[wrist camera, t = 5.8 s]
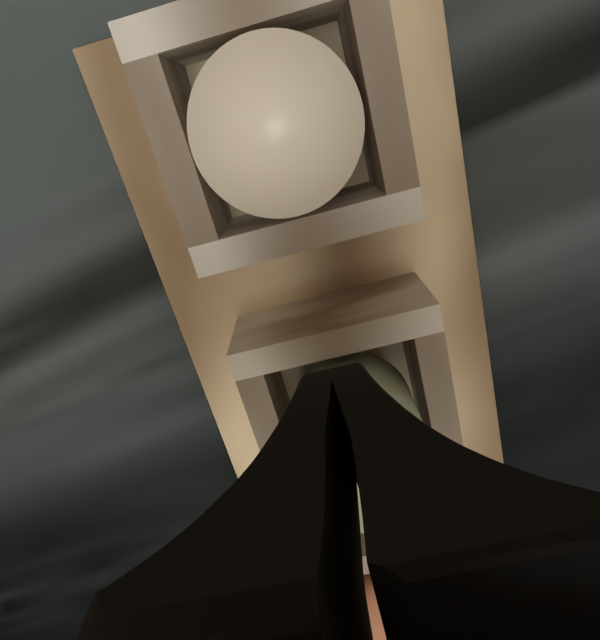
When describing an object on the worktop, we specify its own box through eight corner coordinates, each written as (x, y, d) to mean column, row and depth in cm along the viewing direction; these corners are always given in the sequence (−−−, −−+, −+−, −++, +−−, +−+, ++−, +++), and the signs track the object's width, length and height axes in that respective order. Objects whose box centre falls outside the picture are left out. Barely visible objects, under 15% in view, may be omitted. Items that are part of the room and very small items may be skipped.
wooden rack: (431, -59, 16) (473, -113, 12) (515, 571, 26) (552, 647, 22) (77, 50, 17) (15, 32, 13) (293, 614, 27) (293, 694, 23)
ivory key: (330, 31, 15) (343, 3, 11) (361, 177, 17) (380, 194, 13) (192, 72, 15) (159, 58, 12) (235, 211, 17) (219, 237, 13)
